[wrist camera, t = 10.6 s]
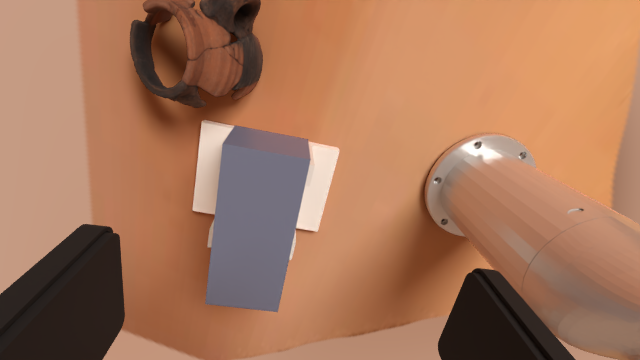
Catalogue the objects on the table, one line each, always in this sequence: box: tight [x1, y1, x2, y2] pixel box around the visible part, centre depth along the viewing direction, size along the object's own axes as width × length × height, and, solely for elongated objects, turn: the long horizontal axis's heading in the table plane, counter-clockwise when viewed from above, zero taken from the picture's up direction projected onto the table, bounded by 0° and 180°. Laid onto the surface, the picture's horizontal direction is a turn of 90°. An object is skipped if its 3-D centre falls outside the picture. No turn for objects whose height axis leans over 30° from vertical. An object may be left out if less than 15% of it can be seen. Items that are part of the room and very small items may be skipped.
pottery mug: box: [130, 0, 263, 108], centre depth 28 cm, size 12×10×8 cm
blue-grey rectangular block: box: [205, 126, 311, 312], centre depth 27 cm, size 6×14×5 cm, turn 168°
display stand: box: [192, 120, 339, 260], centre depth 33 cm, size 14×10×7 cm
